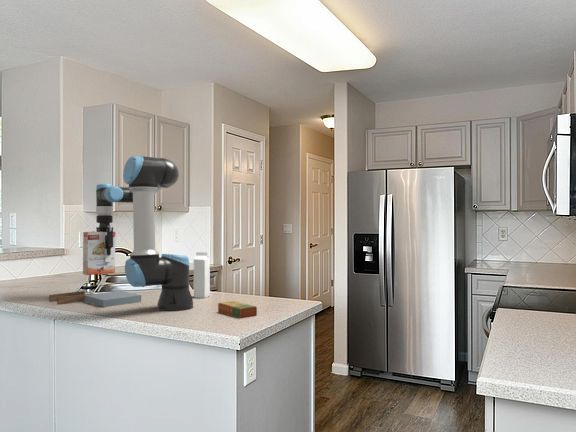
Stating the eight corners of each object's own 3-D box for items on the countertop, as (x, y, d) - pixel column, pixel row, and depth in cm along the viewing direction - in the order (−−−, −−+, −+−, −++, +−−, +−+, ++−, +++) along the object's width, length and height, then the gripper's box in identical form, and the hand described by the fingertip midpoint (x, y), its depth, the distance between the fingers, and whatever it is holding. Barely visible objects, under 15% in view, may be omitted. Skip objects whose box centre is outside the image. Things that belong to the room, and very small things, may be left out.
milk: (198, 296, 233) (198, 251, 234) (210, 296, 232) (209, 252, 232) (193, 297, 227) (193, 252, 228) (204, 298, 226) (204, 252, 226)
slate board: (141, 301, 217) (141, 295, 217) (103, 307, 204) (103, 300, 204) (120, 296, 231) (120, 290, 231) (84, 301, 218) (84, 295, 218)
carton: (234, 310, 198) (234, 300, 198) (257, 316, 186) (257, 305, 186) (217, 312, 193) (217, 302, 193) (240, 319, 181) (240, 308, 181)
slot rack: (93, 299, 222) (93, 293, 222) (58, 304, 211) (58, 297, 211) (83, 297, 230) (83, 291, 230) (49, 301, 219) (49, 294, 219)
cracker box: (87, 275, 223) (87, 231, 223) (82, 274, 227) (82, 231, 227) (115, 273, 233) (115, 231, 233) (110, 272, 237) (110, 231, 237)
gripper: (120, 214, 228) (121, 261, 228) (103, 215, 242) (103, 260, 241) (105, 214, 223) (106, 262, 223) (88, 215, 236) (89, 261, 236)
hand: (104, 261), depth 232 cm, fingers closed on cracker box, 6 cm apart
